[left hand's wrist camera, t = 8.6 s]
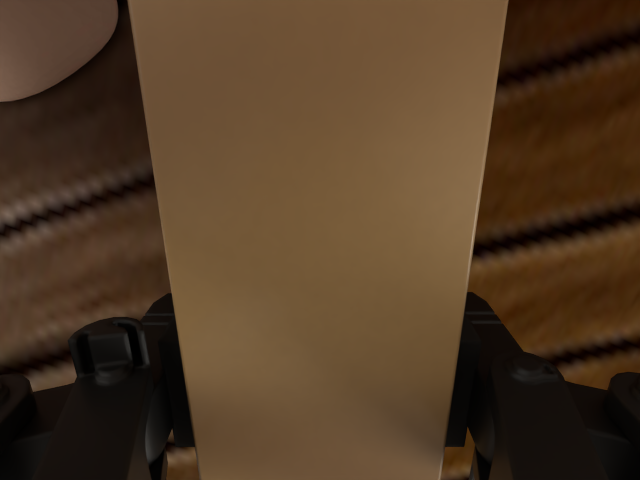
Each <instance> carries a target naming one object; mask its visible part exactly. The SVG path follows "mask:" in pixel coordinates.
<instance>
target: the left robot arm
mask: <svg viewBox="0 0 640 480" xmlns="http://www.w3.org/2000/svg"><path fill="white" fill-rule="evenodd" d="M68 343H69V347H70V351H71V355H72V359H73V362H74V366H75V370H76V374H77V378H76V380H75V383H72V384H68V385H65V386H60V387H55V388H50V389H46V390H41V391H36V392H33V391H32V388H31V385H30V381H29V380H28V379H27V378H25V377H24V376H23V375H16V374H6V375H0V480H166V475H167V466H168V461H167V455H166V449H165V444H166V442H167V439H168V437H169V435H170V432H171V430H172V429H173V435H174V440H175V446H176V447H195V444H194V438H193V431H192V424H191V418H190V411H189V404H188V398H187V391H186V384H185V378H184V371H183V365H182V358H181V351H180V345H179V338H178V331H177V325H176V318H175V312H174V305H173V298H172V293H168V294H166V295H165V296H163V297H162V298H160V299H159V300H157V301H156V302H154V303H153V304H152V306H151V307H150V308H149V310H148V311H147V312H146V314H145V316H143V318H142V319H141V321H138V320H137V319H133V318H129V317H113V318H108V319H103V320H99V321H96V322H94V323H91V324H89V325H86V326H84V327H83V328H81V329H80V330H78V331H76V332H75V333H74V334H73V335H72V336H71V337H70V338H69V340H68ZM467 427H468V428H469V431H470V433H471V436H472V438H473V440H474V443H475V449H474V454H473V460H472V465H471V471H470V476H469V480H640V373H633V372H625V373H618V374H616V375H615V376H614V377H612V378H611V380H610V383H609V387H608V390H603V389H598V388H593V387H589V386H584V385H579V384H574V383H571V382H567V381H565V380H564V378H563V376H562V374H561V373H560V372H559V370H558V369H557V368H556V367H555V366H554V365H552V364H551V363H550V362H548V361H547V360H545V359H543V358H541V357H539V356H536V355H534V354H531V353H527V352H524V351H523V350H522V349H521V347H520V346H519V345H518V343H517V342H516V341H515V339H514V338H513V337H512V335H511V334H510V333H509V331H508V330H507V329H506V327H505V326H504V325H503V324H501V321H500V319H499V318H498V316H497V315H495V314H494V311H493V310H492V308H491V307H490V306H489V304H488V303H487V302H486V301H485V300H483V299H482V298H480V297H479V296H477V295H476V294H474V293H473V292H467V295H466V302H465V309H464V316H463V323H462V330H461V337H460V344H459V351H458V358H457V365H456V372H455V380H454V387H453V394H452V401H451V408H450V415H449V422H448V429H447V436H446V443H445V447H464V445H465V439H466V433H467Z"/></svg>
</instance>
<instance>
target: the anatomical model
mask: <svg viewBox="0 0 640 480" xmlns="http://www.w3.org/2000/svg"><path fill="white" fill-rule="evenodd" d="M117 20H118V5H117V0H0V102H3V101H13V100H18V99H23V98H26V97H29V96H32V95H34V94H37V93H40V92H42V91H44V90H46V89H48V88H50V87H52V86H54V85H56V84H57V83H59V82H60V81H62V80H63V79H65V78H67V77H68V76H70V75H71V74H73V73H74V72H75V71H77V70H78V69H79V68H81V67H82V66H83V65H84V64H86V63H87V62H88V61H90V60H91V59H92V58H93V57H94V56H95V55H96V54H97V53H98V52H99V51H100V50H101V49H102V48H103V47H104V46H105V44H106V43H107V42H108V41H109V39H110V38H111V36H112V34H113V32H114V30H115V27H116V24H117Z"/></svg>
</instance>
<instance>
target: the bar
mask: <svg viewBox="0 0 640 480" xmlns="http://www.w3.org/2000/svg"><path fill="white" fill-rule="evenodd" d="M507 6H508V0H128V7H129V13H130V20H131V26H132V33H133V40H134V46H135V53H136V60H137V66H138V73H139V80H140V86H141V93H142V99H143V106H144V113H145V119H146V126H147V133H148V139H149V146H150V152H151V159H152V166H153V172H154V179H155V186H156V192H157V199H158V205H159V212H160V219H161V225H162V232H163V239H164V245H165V252H166V259H167V265H168V272H169V278H170V285H171V292H172V298H173V305H174V312H175V318H176V325H177V331H178V338H179V345H180V351H181V358H182V365H183V371H184V378H185V384H186V391H187V398H188V404H189V411H190V418H191V424H192V431H193V438H194V444H195V451H196V457H197V464H198V471H199V477H200V480H440V478H441V471H442V464H443V457H444V450H445V443H446V436H447V429H448V422H449V415H450V408H451V401H452V394H453V387H454V380H455V372H456V365H457V358H458V351H459V344H460V337H461V330H462V323H463V316H464V309H465V302H466V295H467V288H468V281H469V274H470V267H471V260H472V253H473V246H474V239H475V232H476V225H477V218H478V211H479V204H480V197H481V189H482V182H483V175H484V168H485V161H486V154H487V147H488V140H489V133H490V126H491V119H492V112H493V105H494V98H495V91H496V84H497V77H498V70H499V63H500V56H501V49H502V42H503V35H504V28H505V21H506V13H507Z"/></svg>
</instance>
